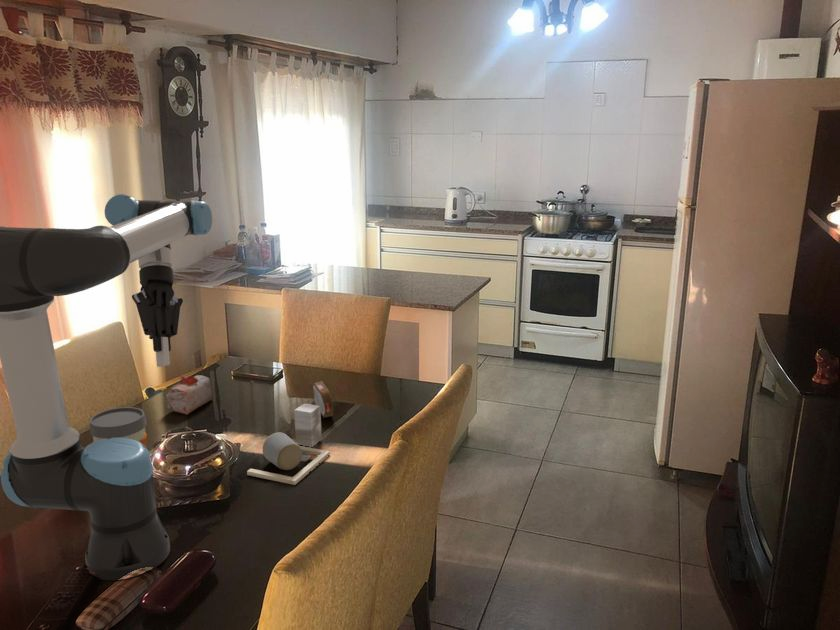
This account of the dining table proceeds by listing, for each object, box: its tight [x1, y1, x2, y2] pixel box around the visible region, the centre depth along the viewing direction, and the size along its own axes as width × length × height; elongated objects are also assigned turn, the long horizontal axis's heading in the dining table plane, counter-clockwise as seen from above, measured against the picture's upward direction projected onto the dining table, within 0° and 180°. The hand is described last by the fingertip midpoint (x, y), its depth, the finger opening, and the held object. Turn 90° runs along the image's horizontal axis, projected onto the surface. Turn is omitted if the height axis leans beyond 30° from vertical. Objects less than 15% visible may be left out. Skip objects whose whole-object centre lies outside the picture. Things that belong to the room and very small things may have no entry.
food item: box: [165, 374, 214, 416], centre depth 204 cm, size 14×8×10 cm, turn 162°
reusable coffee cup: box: [89, 406, 148, 448], centre depth 163 cm, size 13×13×15 cm
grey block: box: [293, 403, 323, 448], centre depth 180 cm, size 5×5×10 cm
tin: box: [312, 380, 334, 418], centre depth 201 cm, size 15×3×8 cm, turn 22°
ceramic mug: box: [262, 431, 310, 471], centre depth 169 cm, size 11×8×8 cm
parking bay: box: [246, 445, 331, 486], centre depth 169 cm, size 17×14×1 cm
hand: (163, 365), depth 155 cm, fingers closed
